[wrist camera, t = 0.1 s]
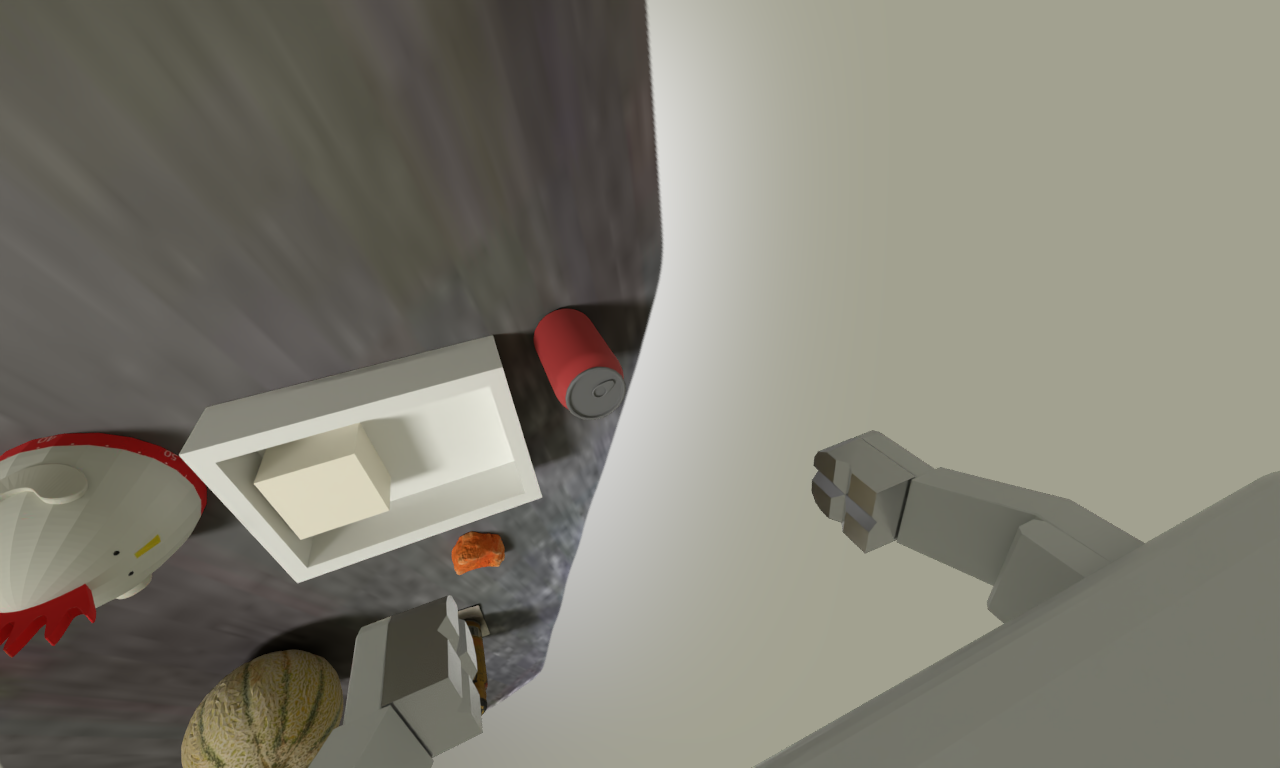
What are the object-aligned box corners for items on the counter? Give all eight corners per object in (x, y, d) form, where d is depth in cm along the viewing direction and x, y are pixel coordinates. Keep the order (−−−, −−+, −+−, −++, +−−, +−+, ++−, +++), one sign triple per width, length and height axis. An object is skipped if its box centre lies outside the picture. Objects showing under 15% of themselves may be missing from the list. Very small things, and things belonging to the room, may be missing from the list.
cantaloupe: (203, 705, 60) (155, 858, 48) (209, 632, 54) (155, 786, 43) (340, 685, 67) (326, 813, 56) (357, 619, 62) (345, 746, 50)
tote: (206, 407, 41) (178, 455, 36) (492, 334, 48) (502, 367, 43) (307, 533, 52) (297, 583, 47) (530, 460, 58) (542, 497, 53)
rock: (513, 567, 69) (518, 592, 66) (422, 578, 63) (422, 607, 60) (528, 507, 64) (535, 532, 60) (430, 514, 58) (431, 542, 55)
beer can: (603, 336, 53) (643, 395, 44) (556, 371, 53) (586, 437, 44) (570, 293, 49) (607, 348, 39) (519, 331, 49) (544, 395, 40)
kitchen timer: (228, 530, 48) (172, 676, 37) (40, 563, 43) (-94, 746, 32) (173, 421, 41) (83, 562, 30) (-61, 446, 36) (-281, 628, 24)
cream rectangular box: (266, 446, 44) (253, 483, 40) (359, 421, 46) (354, 453, 42) (309, 502, 49) (300, 539, 45) (390, 476, 51) (389, 510, 47)
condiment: (441, 650, 72) (445, 737, 63) (425, 621, 67) (428, 710, 58) (489, 632, 74) (501, 713, 65) (478, 603, 69) (488, 686, 60)
